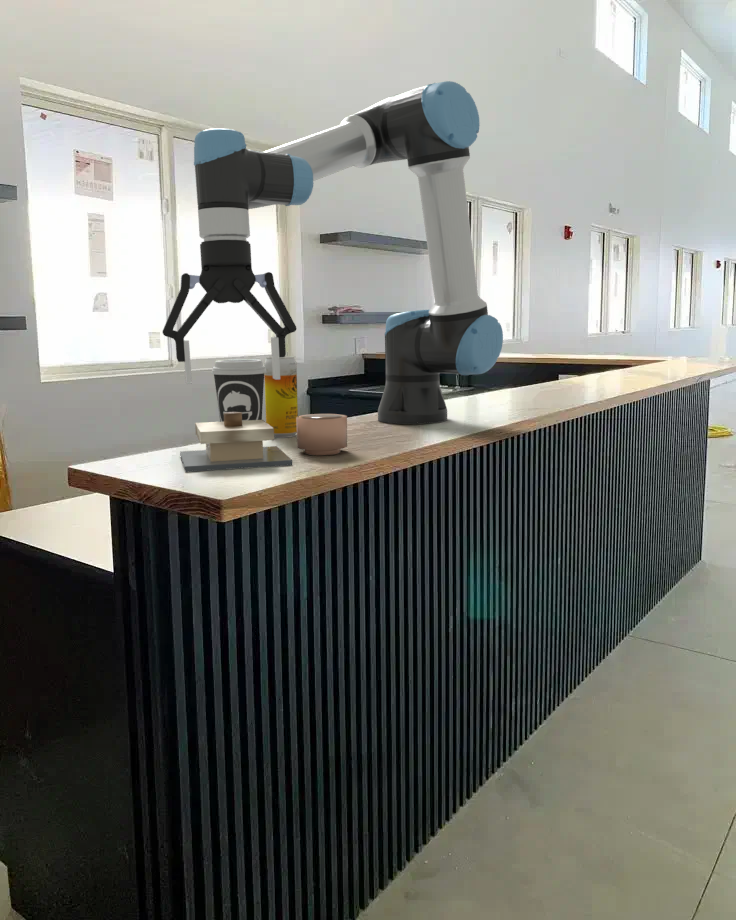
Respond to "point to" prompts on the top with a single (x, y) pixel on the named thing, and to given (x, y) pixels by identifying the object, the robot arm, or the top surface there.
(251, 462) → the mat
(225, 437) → the lid
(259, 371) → the coffee cup
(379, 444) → the top surface
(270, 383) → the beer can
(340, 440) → the bowl
